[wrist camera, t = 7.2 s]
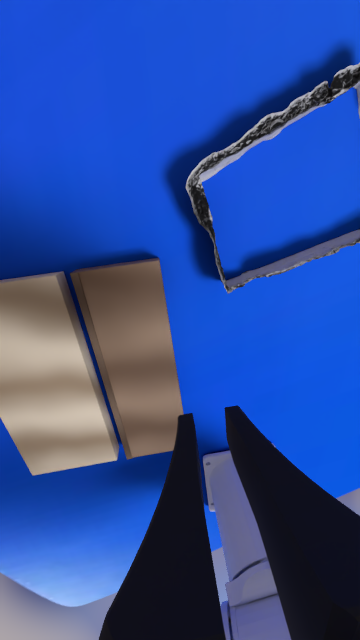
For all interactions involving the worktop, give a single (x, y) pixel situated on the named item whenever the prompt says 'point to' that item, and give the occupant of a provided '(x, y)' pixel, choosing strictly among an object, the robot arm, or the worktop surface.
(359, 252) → the worktop surface
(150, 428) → the walnut strip
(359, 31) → the worktop surface
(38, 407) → the maple plank
